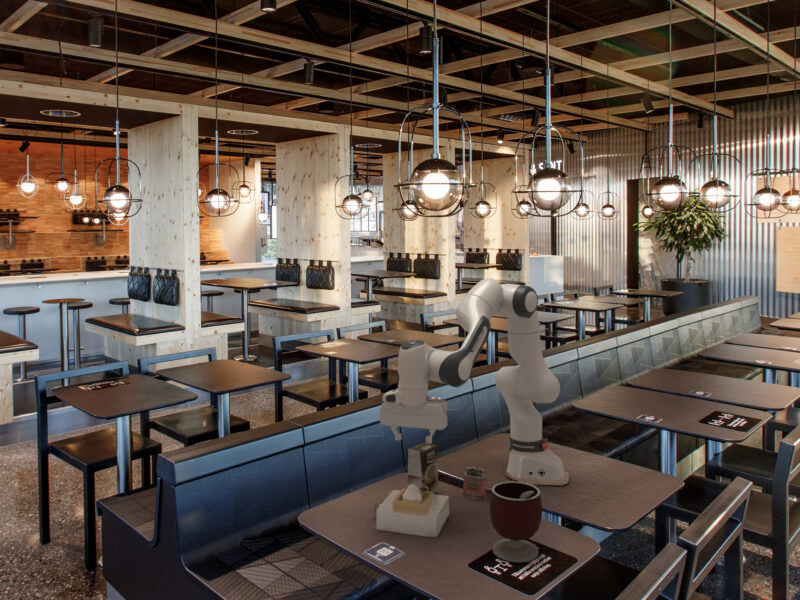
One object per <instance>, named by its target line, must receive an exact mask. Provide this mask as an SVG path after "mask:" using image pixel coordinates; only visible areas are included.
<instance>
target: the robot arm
mask: <svg viewBox="0 0 800 600" xmlns="http://www.w3.org/2000/svg"><path fill="white" fill-rule="evenodd" d="M538 297H539V296H538V294H537V292H536V290H535V289H534V288H533V287H532V286H529V285H525V284H516V283H502V284H501V283H499V282H498V281H496V280H494V279H492V278H484V279H483V278H482V279H481V280H480V281H478V282H477V283H476V284H475V285H474V286H472V287H471V289H469V291H468V292H467V293H466V294H465V295H464V297H462V299H461V300H460V301H459V302H458V305H457V307H456V309H455V317H456V320H457V323H458V324H459V325H460V327H461V328H462V329H463V330H464V331H466V332H467V333H468V334H467V336H466V337H465V339H464V341H463V343H462V345H461V347H459V349H457V350H453V351H449V350H442V349H437V348H435V347H431V346H430V345H428V344H426V342H425V341H424V340H420V339H413V340H407V341H405V342H403V343H402V344H401V346H400V348H399V352H398V355H397V356H398V358H397V359H398V360H397V361H398V362H397V369H398V370H397V373H398V376H399V380H398V384H397V388H396V389H391V390H389V391H387V392H386V393H384V394H382V395H383V396H382V403H381V405H380V407H379V408H380V409H379V422H380V425H381V426H390V428H391V431H392V433H393V434H394V440H395V441H401V440H402V433H399V431H398V428H399V427H403V428H404V427H405V428H413V429H414V428H416V429H427V430H428V431H429V433H430V434H429V435H426V436H425V443H427V444H432V443H433V442H432V441H433V438H432V437H434V434H435V432H436V430H439V431H442V430H443V431H444V430H445V428H447V426H448V415H447V412H448V402H447V401H446V399H444V398H443V397H434V396H429V383H428V382H429V381H433V382H435V383H436V382H437V383H441V384H444V385H446V386H450V387H453V388H459V387H462V386H463V385H465V384H466V383H467V382H468V380H470V377H471V375H472V371H473V369H474V366H475V363H476V361H477V359H478V357H479V355H480V353H481V351H482V350H483V348H484V346H485V344H486V342H487V339H488V338H489V335H490V332H491V329H492V328H491V327H492V326H491V319H492V317H493V316H499V317H507V338H508V339H507V340H508V341H507V343H508V352H509V355H510V356H511V358H513V359H514V360H515V362H516V363H517V364H518V366H517V365H510V366H509V365H508V366H502V367H501V368H500V369H498V371H497V373H496V374H495V386H496V389H497V390H498V392H500V393H501V395H502V397H503V399H504V400H505V403H506V406H507V408H508V413H509V419H510V422H509V423H510V424H509V425H510V434H509V438H508V452H509V457H508V464H507V468H506V471H507V472H508V473H509V474H511V475H512V476H515V477H517V478H538V479H551V480H560V479H562V478H563V477H564V470H565V469H564V465H563V461H562V459H561V458H560V457H559V456H558V455H557V454H555V453H554V452H553V451H551V450H550V449H549V443H548V439H547V438H544V437H543V417H542V414H541V413H540V412H539V410H537V409H536V407H535V405H534V403H538V404H549V403H553V402H554V401H556V400H557V398H558V397H559V395H560V391H561V383H560V381H559V379H558V377H556V375H555V374H553V373H552V371H551V369H550V368H549V367H548V364H547V363H546V361H545V358H544V356H543V351H542V345H541V343H542V342H541V333H540V332H541V331H540V330H541V329H540V320H539V315H538V310H537V309H538V305H539V298H538Z"/></svg>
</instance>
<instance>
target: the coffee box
mask: <svg viewBox="0 0 800 600" xmlns="http://www.w3.org/2000/svg"><path fill="white" fill-rule="evenodd" d="M407 451H408V452H407V454H408V455H407V456H408V457H407V466H408V467H407V469H408V470H407V487H408V486H409V485H411V484H413V485H416V486H417V488H418V490H420V491H429V492H434V494H436V493H438V492H439V445H437V444H435V443H434V444H433V443H431V444H430V443H426V442H421V443H419V444H416V445H414V446H411V447H409V448H408V450H407Z"/></svg>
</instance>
